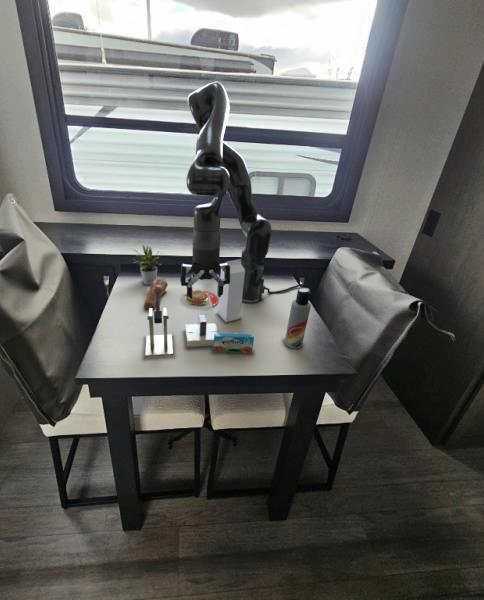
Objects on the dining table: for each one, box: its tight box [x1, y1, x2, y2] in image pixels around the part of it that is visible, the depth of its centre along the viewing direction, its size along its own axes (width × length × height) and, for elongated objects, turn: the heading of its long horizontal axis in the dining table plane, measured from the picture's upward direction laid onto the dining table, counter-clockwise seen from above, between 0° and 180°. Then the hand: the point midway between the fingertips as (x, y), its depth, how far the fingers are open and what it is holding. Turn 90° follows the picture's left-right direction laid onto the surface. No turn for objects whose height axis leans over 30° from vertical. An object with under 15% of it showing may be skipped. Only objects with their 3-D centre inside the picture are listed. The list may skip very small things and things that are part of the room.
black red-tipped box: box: [197, 314, 208, 336], centre depth 99 cm, size 5×2×5 cm, turn 9°
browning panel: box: [184, 322, 219, 347], centre depth 101 cm, size 10×9×3 cm
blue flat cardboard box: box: [212, 332, 255, 354], centre depth 96 cm, size 12×2×6 cm, turn 93°
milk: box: [217, 258, 245, 323], centre depth 110 cm, size 6×6×22 cm
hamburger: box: [183, 289, 219, 307], centre depth 123 cm, size 14×14×6 cm
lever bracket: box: [144, 307, 174, 357], centre depth 94 cm, size 10×8×13 cm
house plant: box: [131, 243, 163, 286], centre depth 132 cm, size 14×14×16 cm
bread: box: [143, 276, 168, 311], centre depth 121 cm, size 6×19×6 cm, turn 175°
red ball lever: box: [152, 285, 163, 324], centre depth 95 cm, size 13×3×3 cm, turn 10°
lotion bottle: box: [284, 287, 312, 349], centre depth 98 cm, size 6×6×20 cm
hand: (204, 296), depth 94 cm, fingers open, 8 cm apart
